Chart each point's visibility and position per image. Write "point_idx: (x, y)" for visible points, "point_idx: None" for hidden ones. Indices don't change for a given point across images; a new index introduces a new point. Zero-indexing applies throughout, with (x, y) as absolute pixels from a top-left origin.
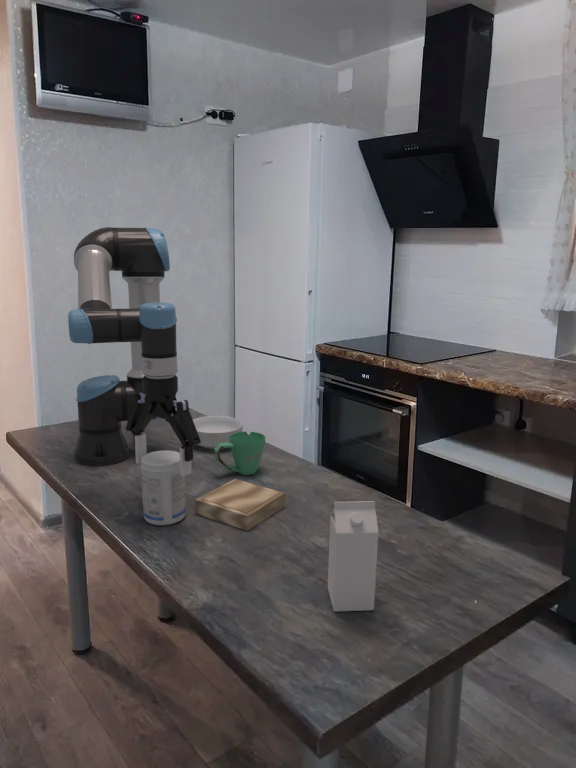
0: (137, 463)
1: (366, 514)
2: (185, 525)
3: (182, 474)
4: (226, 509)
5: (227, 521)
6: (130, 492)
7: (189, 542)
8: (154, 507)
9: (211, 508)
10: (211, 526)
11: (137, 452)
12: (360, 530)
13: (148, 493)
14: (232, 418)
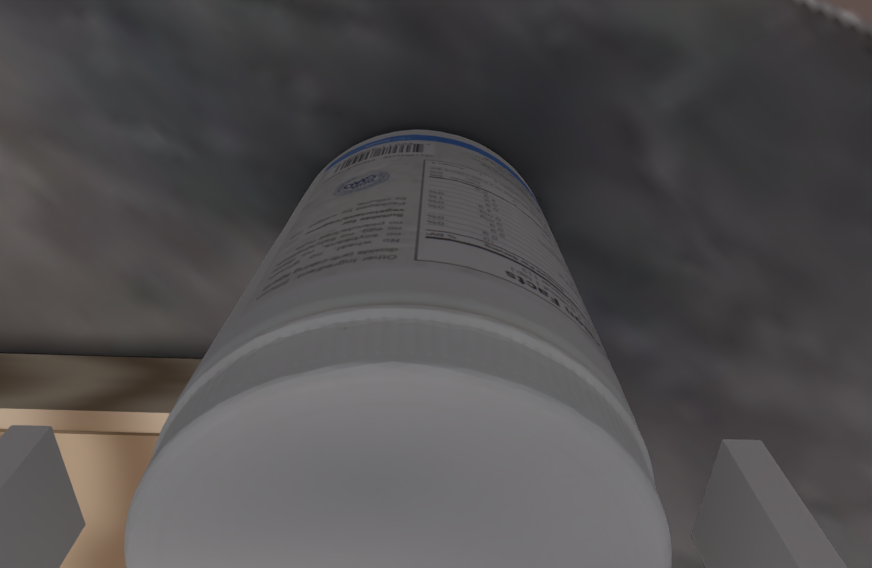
0: (736, 441)
1: None
2: (249, 235)
3: (5, 440)
4: (47, 409)
5: (80, 364)
6: (814, 371)
7: (57, 86)
8: (367, 166)
9: (175, 397)
10: (130, 298)
11: (801, 561)
12: None
13: (413, 195)
14: None
